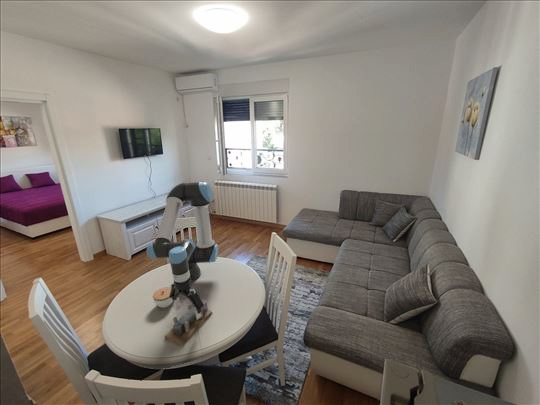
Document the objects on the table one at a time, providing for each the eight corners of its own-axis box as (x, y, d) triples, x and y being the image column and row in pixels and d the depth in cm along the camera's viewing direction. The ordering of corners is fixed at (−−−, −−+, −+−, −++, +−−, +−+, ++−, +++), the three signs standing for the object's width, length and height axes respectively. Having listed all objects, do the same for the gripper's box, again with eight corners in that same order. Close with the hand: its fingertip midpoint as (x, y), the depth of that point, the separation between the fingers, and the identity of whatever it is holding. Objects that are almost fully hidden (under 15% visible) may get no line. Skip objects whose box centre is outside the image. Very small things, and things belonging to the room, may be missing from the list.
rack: (196, 307, 135) (194, 296, 133) (212, 313, 131) (210, 302, 128) (165, 338, 116) (162, 325, 114) (182, 346, 112) (179, 333, 110)
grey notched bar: (200, 306, 134) (199, 299, 132) (208, 309, 132) (207, 301, 130) (173, 333, 117) (171, 325, 115) (181, 337, 115) (179, 329, 113)
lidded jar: (153, 312, 132) (150, 298, 130) (156, 300, 142) (154, 286, 139) (174, 308, 135) (171, 294, 132) (176, 296, 145) (173, 283, 142)
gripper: (156, 276, 117) (164, 310, 124) (197, 290, 106) (202, 326, 114) (169, 267, 123) (175, 301, 130) (207, 280, 113) (212, 315, 120)
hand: (188, 313), depth 122 cm, fingers open, 13 cm apart
